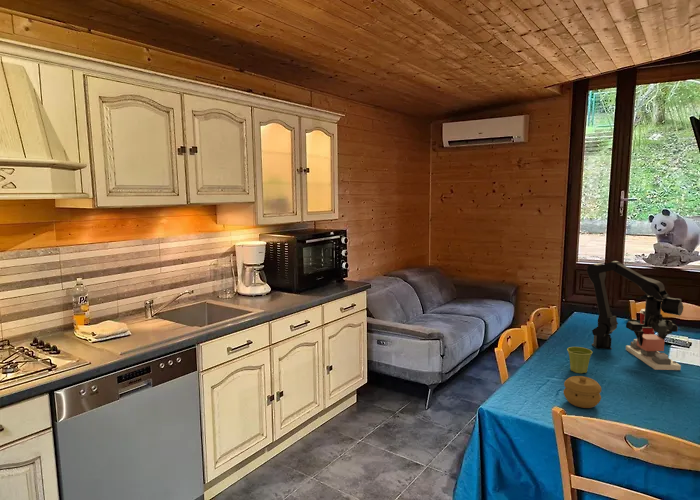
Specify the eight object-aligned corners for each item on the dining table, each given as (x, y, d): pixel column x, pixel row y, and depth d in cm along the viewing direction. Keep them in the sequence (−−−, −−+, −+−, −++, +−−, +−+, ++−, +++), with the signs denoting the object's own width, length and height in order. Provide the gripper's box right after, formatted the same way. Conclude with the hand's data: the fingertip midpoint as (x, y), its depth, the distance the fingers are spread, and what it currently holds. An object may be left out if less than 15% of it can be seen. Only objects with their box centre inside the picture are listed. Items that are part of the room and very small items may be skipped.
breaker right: (659, 360, 197) (660, 355, 197) (655, 357, 201) (655, 352, 200) (667, 360, 197) (668, 355, 197) (663, 357, 200) (663, 352, 200)
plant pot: (565, 372, 194) (566, 352, 193) (566, 365, 202) (567, 345, 201) (591, 376, 190) (592, 355, 189) (591, 368, 198) (592, 348, 197)
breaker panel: (654, 369, 197) (655, 360, 196) (625, 349, 220) (626, 341, 220) (680, 370, 196) (681, 360, 195) (648, 350, 220) (649, 341, 219)
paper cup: (659, 340, 233) (661, 312, 231) (643, 340, 233) (645, 312, 231) (649, 335, 241) (651, 308, 239) (634, 335, 241) (636, 308, 239)
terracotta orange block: (636, 345, 212) (637, 334, 211) (654, 345, 211) (654, 334, 210) (645, 350, 204) (646, 339, 204) (663, 351, 204) (664, 339, 203)
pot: (604, 414, 159) (606, 385, 158) (565, 410, 162) (567, 381, 161) (596, 399, 170) (598, 372, 169) (560, 395, 173) (562, 369, 172)
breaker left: (637, 345, 215) (637, 341, 215) (633, 343, 218) (633, 338, 218) (644, 345, 215) (644, 341, 215) (640, 343, 218) (641, 339, 218)
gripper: (640, 315, 198) (637, 351, 200) (687, 316, 197) (684, 352, 199) (626, 308, 209) (624, 343, 211) (671, 309, 208) (668, 343, 210)
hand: (650, 345), depth 207 cm, fingers closed on terracotta orange block, 7 cm apart
